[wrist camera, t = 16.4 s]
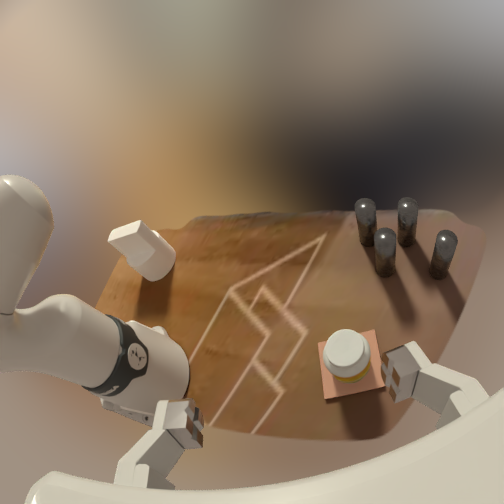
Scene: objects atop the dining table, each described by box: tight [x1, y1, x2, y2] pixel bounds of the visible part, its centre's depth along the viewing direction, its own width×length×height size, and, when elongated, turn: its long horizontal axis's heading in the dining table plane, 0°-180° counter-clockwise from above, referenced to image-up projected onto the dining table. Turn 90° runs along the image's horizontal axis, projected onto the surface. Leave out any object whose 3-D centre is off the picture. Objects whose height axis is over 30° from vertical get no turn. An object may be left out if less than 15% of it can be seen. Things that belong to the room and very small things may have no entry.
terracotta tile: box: [318, 330, 385, 399], centre depth 33 cm, size 8×8×1 cm
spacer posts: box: [355, 197, 458, 280], centre depth 36 cm, size 12×12×8 cm
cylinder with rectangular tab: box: [108, 220, 176, 281], centre depth 56 cm, size 9×9×12 cm
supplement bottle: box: [323, 329, 371, 384], centre depth 30 cm, size 5×5×10 cm
